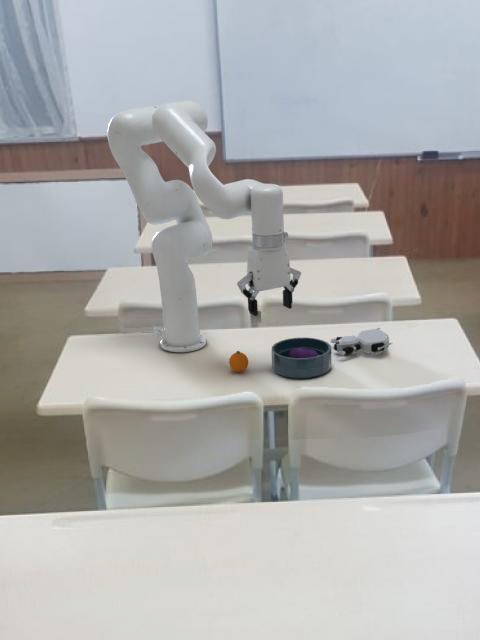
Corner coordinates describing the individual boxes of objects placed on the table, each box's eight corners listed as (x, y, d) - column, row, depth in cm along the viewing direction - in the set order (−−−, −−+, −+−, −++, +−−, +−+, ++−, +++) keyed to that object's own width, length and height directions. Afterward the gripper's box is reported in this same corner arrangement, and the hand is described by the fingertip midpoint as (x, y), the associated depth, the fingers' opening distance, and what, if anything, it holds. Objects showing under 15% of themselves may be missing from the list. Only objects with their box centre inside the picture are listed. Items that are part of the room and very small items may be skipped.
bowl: (264, 376, 215) (263, 355, 212) (283, 355, 227) (282, 335, 224) (321, 382, 210) (321, 361, 207) (337, 360, 222) (337, 340, 219)
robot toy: (339, 365, 221) (395, 356, 223) (338, 349, 219) (394, 340, 220) (329, 349, 232) (382, 340, 233) (328, 333, 229) (381, 324, 230)
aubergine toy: (286, 365, 219) (285, 351, 216) (291, 359, 222) (290, 345, 219) (319, 369, 216) (318, 354, 214) (323, 362, 219) (323, 348, 217)
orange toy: (226, 374, 217) (225, 353, 214) (233, 366, 221) (232, 346, 218) (244, 375, 215) (243, 355, 212) (251, 368, 219) (250, 348, 216)
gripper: (291, 231, 207) (292, 300, 217) (228, 242, 200) (232, 313, 210) (307, 238, 202) (308, 308, 211) (243, 249, 195) (247, 321, 204)
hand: (270, 310), depth 211 cm, fingers open, 9 cm apart
